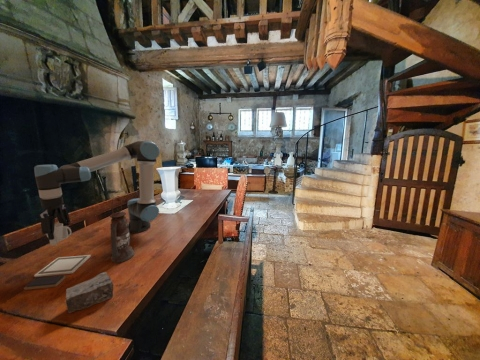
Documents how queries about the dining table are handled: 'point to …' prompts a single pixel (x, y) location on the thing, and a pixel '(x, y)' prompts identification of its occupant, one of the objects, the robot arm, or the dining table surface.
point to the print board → (63, 266)
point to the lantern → (117, 230)
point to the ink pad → (45, 282)
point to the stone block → (89, 292)
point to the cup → (60, 231)
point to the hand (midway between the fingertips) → (60, 241)
